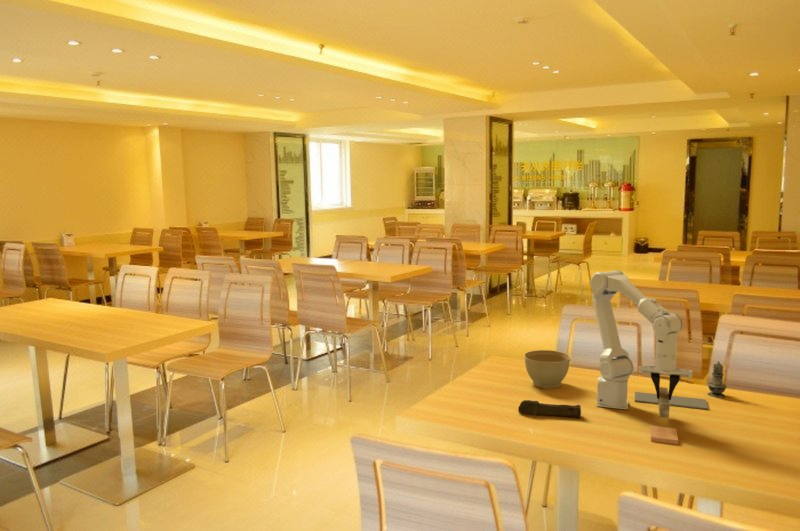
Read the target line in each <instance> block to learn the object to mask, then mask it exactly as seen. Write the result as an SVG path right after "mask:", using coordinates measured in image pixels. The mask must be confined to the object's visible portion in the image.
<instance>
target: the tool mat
mask: <svg viewBox="0 0 800 531" xmlns="http://www.w3.org/2000/svg"><path fill="white" fill-rule="evenodd" d="M634 402H635V403H636V402H637V403H643V404H654V405H659V404H658V399H657V393H650V392H649V393H648V392H640V391H635V392H634ZM669 404H670V406H671V407H679V408H680V407H681V408H689V409H697V410H707V411H709V406H708V402H707V399H706V398H695V397H687V396H680V395H679V396H677V395H672V397H671V400H669Z"/></svg>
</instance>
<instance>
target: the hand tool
mask: <svg viewBox="0 0 800 531" xmlns="http://www.w3.org/2000/svg"><path fill="white" fill-rule="evenodd" d="M539 402H540V401H539V400H530V399H528V400H526V399H523V401H521V402H520V404H519V406H518V413H519V414H522V415H525V414H526V415H527V416H533V415H534V416H535V417H537V416H539V415H541V416H542V415H547V416H557V417H558V416H560V417H561V416H562V417H571V418H573V417H575V418H577V419H581V416H582V408H581V405H580V404H577V405H572V404H571V405H570V404H549V403H542V402H541V403H539ZM534 416H533V417H534Z"/></svg>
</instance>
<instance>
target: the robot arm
mask: <svg viewBox="0 0 800 531" xmlns="http://www.w3.org/2000/svg"><path fill="white" fill-rule="evenodd" d="M589 284H590V288H591V300H592V303H593V304H592V305H593V309H594V313H595V316H596V321H597V325H598V330H599V334H600V339H601V343H602V347H603V351H602V353H601V354H600V356H599V357H598V359H599V372H600V374H601V376H598V377H597V393H596V394H595V395H596V397H595V398H596V406H597V407H601V408H609V409H610V408H611V409H618V410H628V409H629V400H628V382H629V380H628V379H630V376H631V375H632V374H633V373H634V368H635V366H634V362H633V360H632V359H631V358H630V354H629V352H628V351H626V350H625V349H624V348H623V347H622V345H621V341H620V337H619V332H618V328H617V322H616V319H615V315H614V311H613V307H612V301H611V300H612V299H613V298H614V296H615V295H617V294H618V293H620V294H622V295H624V296H625V297H626V299H628V300H630V301H631V303H634V304H635V305H636V306H637V311H638V312H639V314H640V315H642V317H644V318H645V319H647V321H648V322H649V323H650V324H652V329H653V331H654V334H655V335H654V337H655V360H654V365H640V364H639V365H638V374H648V375H649V374H650V378H651V381H652V383H653V385H654V389H655V394H657V399H659V397H660V392H659V387H661V386H660V384H661V383H660V382H661V375H662V376H669V386H668V397H669V400H671V397H672V396H673V394H674V391H675V389H676V387H677V385H678V384H679V382H680V377H683V378H688V379H692V378H693V370H692V369H684V368H680V367H679V368H678V367H677V354H678V353H677V352H678V334H679V332H680V331H681V330H682V328H683V324H684V323H683V320H682V318H681V317H680V315H679V314H677V313H676V312H670V311H669V310H668V309H665V308H664V306H662V305H661V304H660V303H658V300H657V299H656V298H653V297H646V296H645V295H644V294H643V293H642V292H641V291H640V290H639V289H638V288H637V287H636V286H634V284H632V282H631V281H630V280H629V276H627V274H625V273H624V272H623V271H621V270H618V269H617V270H608V271H596V272H594V273H593V275H592V277H591V278H590V280H589Z"/></svg>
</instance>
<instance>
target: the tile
mask: <svg viewBox="0 0 800 531" xmlns="http://www.w3.org/2000/svg"><path fill="white" fill-rule="evenodd" d="M677 431H678V430H677V428H674V427H666V426H665V427H664V426H656V425H650V426H649V436H650V442H653V443H661V444H670V445H676V446H678V445H679V438H678V437H679V436H678V432H677Z"/></svg>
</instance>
